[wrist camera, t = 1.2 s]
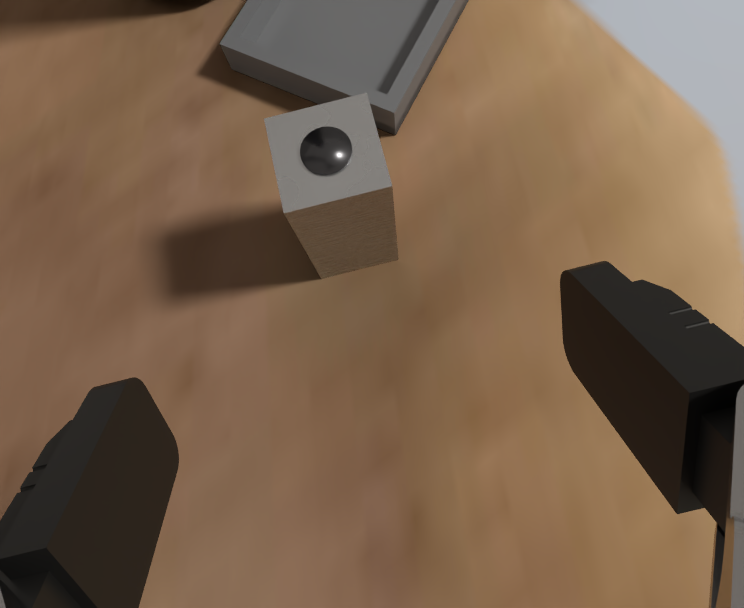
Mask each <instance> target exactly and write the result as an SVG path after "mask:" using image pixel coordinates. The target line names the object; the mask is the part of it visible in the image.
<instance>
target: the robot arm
mask: <svg viewBox="0 0 744 608" xmlns="http://www.w3.org/2000/svg"><path fill="white" fill-rule="evenodd" d="M560 291H561V310H562V330H563V344H564V349H565V353H566V356H567V359H568V362H569V364H570V366H571V368H572V370H573V372H574V373H575V375H576V376H577V378H578V379H579V380H580V382H581V383H582V384H583V386H584V387H585V389H586V390H587V391H588V393H589V394H590V395H591V397H592V398H593V400H594V401H595V402H596V404H597V405H598V406H599V408H600V409H601V411H602V412H603V413H604V415H605V416H606V417H607V419H608V420H609V421H610V423H611V424H612V426H613V427H614V428H615V430H616V431H617V432H618V434H619V435H620V437H621V438H622V439H623V441H624V442H625V443H626V445H627V446H628V448H629V449H630V450H631V452H632V453H633V454H634V456H635V457H636V459H637V460H638V461H639V463H640V464H641V465H642V467H643V468H644V469H645V471H646V472H647V474H648V475H649V476H650V478H651V479H652V480H653V482H654V483H655V485H656V486H657V487H658V489H659V490H660V491H661V493H662V494H663V496H664V497H665V498H666V500H667V501H668V502H669V504H670V505H671V507H672V508H673V509H674V511H675V512H676V513H677V514H680V513H684V512H688V511H693V510H697V509H701V508H706V510H707V511H708V512H709V513H710V515H711V516H712V517H713V518H714V520H715V521H716V528H715V534H714V546H713V559H712V572H711V585H710V598H709V608H744V347H743V346H742V345H741V344H739V343H738V342H737V341H736V340H734V339H733V338H732V337H730V336H729V335H728V334H727V333H725V332H724V331H723V330H721V329H720V328H719V327H718V326H716V325H715V324H714V323H712V324H710V323H709V319H707V318H706V317H705V316H703V315H702V314H701V313H699V312H698V311H697V310H696V309H695V310H692V307H691V306H690V305H689V304H688V303H687V302H685V301H684V300H683V299H681V298H680V297H679V296H678V295H676V294H675V293H674V292H672V291H671V290H669V289H666V288H663V287H661V286H658V285H655V284H653V283H650V282H647V281H644V280H638V281H634V282H632V281H630V280H629V279H628V278H627V277H626V276H624V275H623V274H622V273H621V272H620V271H619V270H617V269H616V268H615V267H614V266H613V265H611V264H610V263H609V262H607V261H602V262H598V263H594V264H590V265H586V266H582V267H578V268H574V269H570V270H566V271H563V272H562V274H561V278H560ZM178 464H179V454H178V448H177V444H176V440H175V438H174V436H173V434H172V432H171V430H170V428H169V427H168V425H167V423H166V421H165V420H164V418H163V416H162V414H161V413H160V411H159V409H158V407H157V406H156V404H155V402H154V400H153V399H152V397H151V395H150V393H149V391H148V390H147V388H146V386H145V385H144V383H143V382H142V381H141V380H139V379H138V378H129V379H125V380H121V381H117V382H113V383H109V384H105V385H101V386H97V387H94V388H92V389H91V390H90V391H89V393H88V394H87V396H86V398H85V400H84V401H83V403H82V405H81V407H80V408H79V410H78V412H77V414H76V415H75V417H74V419H73V420H71V421H69V422H68V423H67V424H66V425H65V426H64V427H63V428H62V429H61V430H60V431H59V432H58V433H57V434H56V435H55V436H54V437H53V438H52V439H51V440H50V441H49V442H48V443H47V444H46V446H45V448H44V449H43V451H42V452H41V454H40V456H39V457H38V459H37V461H36V462H35V464H34V466H33V467H32V468H33V472H30V473H29V474H28V476H27V477H26V479H25V481H24V482H23V484H22V486H21V487H20V489H21V492H20V493H17V494H16V496H15V497H14V499H13V501H12V502H11V504H10V506H9V507H8V509H7V511H6V512H5V514H4V516H3V517H2V519H1V521H0V608H138V607H139V604H140V600H141V597H142V593H143V590H144V586H145V583H146V579H147V576H148V572H149V569H150V565H151V562H152V558H153V555H154V551H155V548H156V544H157V541H158V537H159V534H160V530H161V527H162V523H163V520H164V516H165V513H166V509H167V505H168V502H169V498H170V495H171V491H172V488H173V484H174V481H175V477H176V474H177V470H178Z"/></svg>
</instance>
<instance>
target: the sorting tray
mask: <svg viewBox="0 0 744 608" xmlns="http://www.w3.org/2000/svg"><path fill="white" fill-rule="evenodd" d="M467 2H468V0H247V2H246V3H245V5H244V7H243V8H242V10H241V11H240V13H239V14H238V16H237V17H236V19H235V20H234V22H233V24H232V25H231V27H230V28H229V30H228V31H227V33H226V34H225V36H224V38H223V39H222V41H221V42H220V46H221V48H222V50H223V52H224V54H225V56H226V58H227V60H228V62H229V64H230V66H231V68H232V69H233V70H235V71H237V72H240V73H242V74H245V75H247V76H250V77H252V78H255V79H257V80H260V81H262V82H265V83H267V84H270V85H272V86H275V87H277V88H280V89H282V90H285V91H287V92H290V93H292V94H295V95H297V96H300V97H302V98H305V99H307V100H309V101H312V102H314V103H317V104H319V105H320V104H324V103H328V102H332V101H336V100H339V99H343V98H347V97H351V96H355V95H359V94H363V93H367V95H368V99H369V102H370V106H371V110H372V113H373V117H374V121H375V124H376V127H377V128H379V129H381V130H384V131H386V132H389V133H391V134H394V135H396V134H397V132H398V130H399V128H400V126H401V124H402V122H403V121H404V119H405V117H406V115H407V113H408V111H409V110H410V108H411V106H412V104H413V102H414V100H415V98H416V97H417V95H418V93H419V91H420V89H421V87H422V85H423V84H424V82H425V80H426V78H427V76H428V74H429V73H430V71H431V69H432V67H433V65H434V63H435V61H436V60H437V58H438V56H439V54H440V52H441V50H442V48H443V47H444V45H445V43H446V41H447V39H448V37H449V36H450V34H451V32H452V30H453V28H454V26H455V24H456V23H457V21H458V19H459V17H460V15H461V13H462V12H463V10H464V8H465V6H466V4H467Z"/></svg>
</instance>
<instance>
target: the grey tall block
mask: <svg viewBox="0 0 744 608" xmlns="http://www.w3.org/2000/svg"><path fill="white" fill-rule="evenodd" d="M264 121H265V125H266V130H267V135H268V140H269V145H270V150H271V154H272V159H273V164H274V169H275V174H276V178H277V183H278V188H279V193H280V198H281V202H282V207H283V212H284V215H285V216H286V218H287V220H288V222H289V223H290V225H291V227H292V229H293V230H294V232H295V234H296V236H297V237H298V239H299V241H300V242H301V244H302V246H303V248H304V249H305V251H306V253H307V255H308V256H309V258H310V260H311V262H312V263H313V265H314V267H315V269H316V270H317V272H318V274H319V276H320V277H321V279H323V278H327V277H331V276H335V275H339V274H343V273H347V272H351V271H355V270H359V269H363V268H367V267H371V266H375V265H379V264H383V263H387V262H391V261H395V260H398V248H397V237H396V225H395V213H394V201H393V189H392V183H391V180H390V176H389V172H388V169H387V165H386V161H385V158H384V154H383V150H382V147H381V143H380V139H379V136H378V132H377V128H376V124H375V121H374V117H373V113H372V110H371V106H370V102H369V99H368V95H367V93H363V94H359V95H355V96H351V97H347V98H343V99H339V100H336V101H332V102H328V103H324V104H320V105H316V106H312V107H308V108H304V109H300V110H296V111H292V112H288V113H284V114H281V115H277V116H273V117H269V118H265V119H264Z"/></svg>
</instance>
